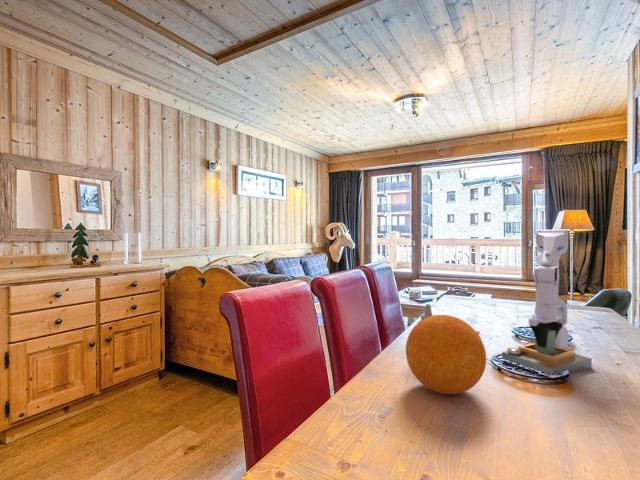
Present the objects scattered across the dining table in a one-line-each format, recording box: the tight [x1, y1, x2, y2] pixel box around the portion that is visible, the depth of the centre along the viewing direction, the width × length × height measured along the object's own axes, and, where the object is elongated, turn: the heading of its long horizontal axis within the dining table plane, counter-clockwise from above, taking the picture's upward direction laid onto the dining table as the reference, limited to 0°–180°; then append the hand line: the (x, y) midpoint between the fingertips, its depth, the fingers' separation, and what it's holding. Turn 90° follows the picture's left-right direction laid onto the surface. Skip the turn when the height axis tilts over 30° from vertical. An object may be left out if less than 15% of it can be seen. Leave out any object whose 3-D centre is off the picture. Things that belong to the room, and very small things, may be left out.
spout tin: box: [534, 330, 556, 354], centre depth 109 cm, size 4×4×8 cm
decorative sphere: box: [405, 314, 487, 395], centre depth 90 cm, size 20×20×20 cm
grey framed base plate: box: [501, 342, 593, 375], centre depth 109 cm, size 20×16×5 cm
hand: (545, 345), depth 109 cm, fingers closed on spout tin, 4 cm apart
